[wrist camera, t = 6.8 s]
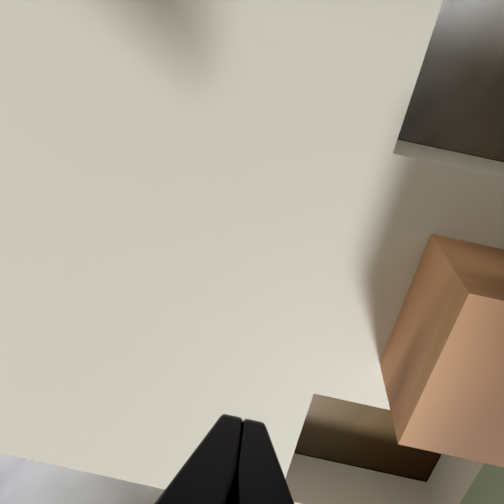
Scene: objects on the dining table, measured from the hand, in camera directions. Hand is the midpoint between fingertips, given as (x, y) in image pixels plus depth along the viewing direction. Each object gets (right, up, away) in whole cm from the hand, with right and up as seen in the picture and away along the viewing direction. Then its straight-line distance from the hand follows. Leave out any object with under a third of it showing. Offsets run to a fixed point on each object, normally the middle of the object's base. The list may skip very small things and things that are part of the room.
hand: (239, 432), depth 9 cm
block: (+8, +1, +6) cm, 10 cm away
